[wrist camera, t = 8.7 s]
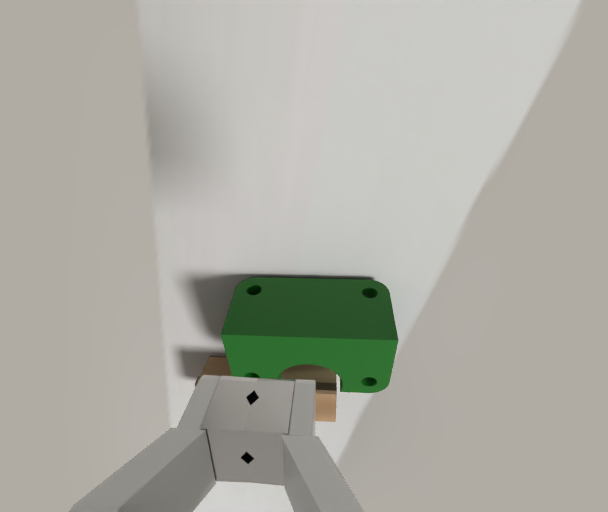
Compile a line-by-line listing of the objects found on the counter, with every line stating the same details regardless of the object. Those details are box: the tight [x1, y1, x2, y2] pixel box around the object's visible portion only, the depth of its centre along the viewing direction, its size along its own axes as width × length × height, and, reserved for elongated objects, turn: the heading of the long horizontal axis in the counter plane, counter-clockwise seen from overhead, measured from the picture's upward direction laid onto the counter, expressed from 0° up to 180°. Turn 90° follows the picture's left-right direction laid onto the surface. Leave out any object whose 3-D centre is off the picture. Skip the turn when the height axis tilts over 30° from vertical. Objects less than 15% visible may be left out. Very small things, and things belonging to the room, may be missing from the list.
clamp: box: [221, 277, 398, 393], centre depth 26 cm, size 12×6×9 cm, turn 84°
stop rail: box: [195, 357, 337, 422], centre depth 29 cm, size 3×11×4 cm, turn 90°
